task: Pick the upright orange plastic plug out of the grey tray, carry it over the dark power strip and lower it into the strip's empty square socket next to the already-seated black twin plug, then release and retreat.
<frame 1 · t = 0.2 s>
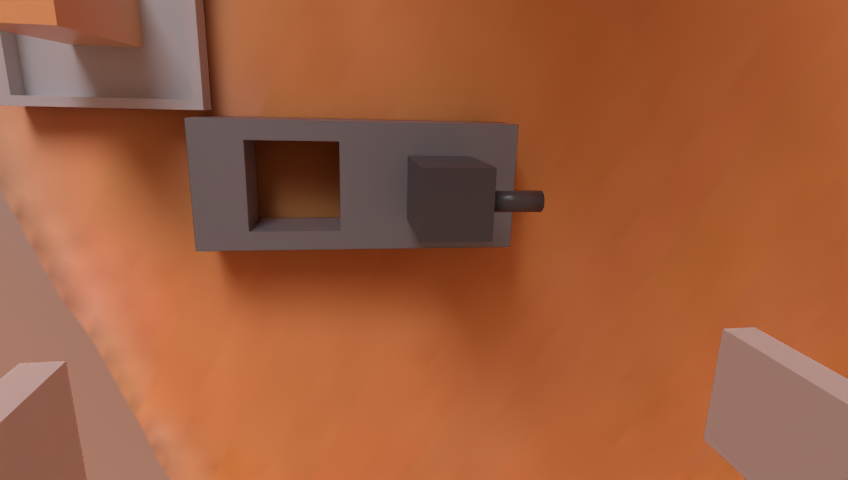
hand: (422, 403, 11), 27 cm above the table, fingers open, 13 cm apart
tray: (107, 12, 32), on the table
plug: (103, 10, 31), resting on tray
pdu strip: (357, 178, 36), on the table
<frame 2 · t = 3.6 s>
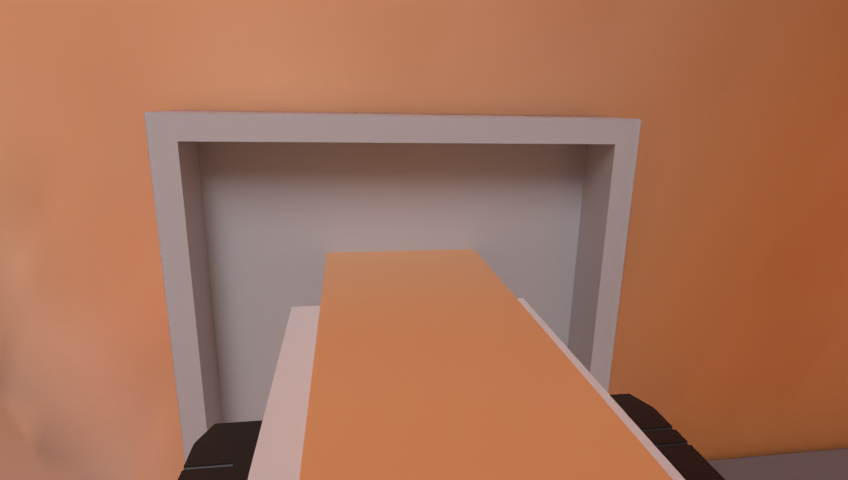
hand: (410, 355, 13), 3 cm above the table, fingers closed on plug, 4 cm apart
tray: (399, 312, 15), on the table
plug: (401, 319, 15), point 1 cm above the table, touching gripper, tray
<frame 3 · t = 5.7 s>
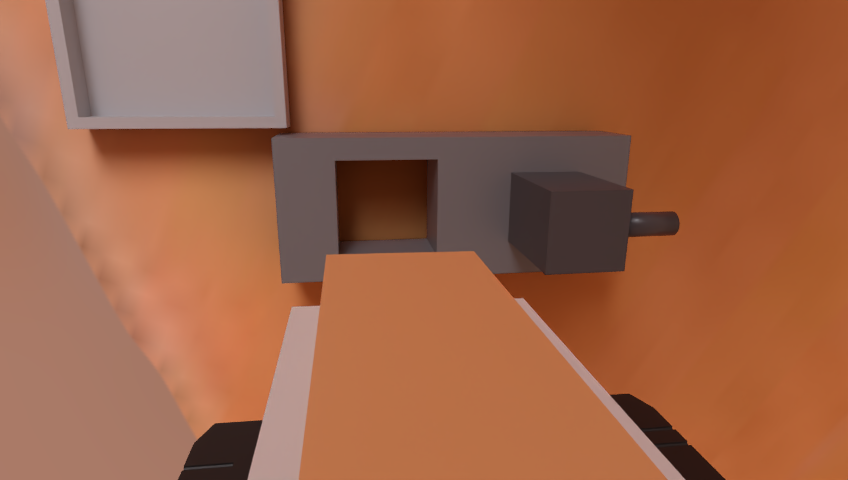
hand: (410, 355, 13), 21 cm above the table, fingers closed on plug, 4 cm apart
tray: (178, 21, 29), on the table
plug: (401, 321, 15), point 19 cm above the table, touching gripper
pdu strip: (445, 195, 33), on the table
when the fingers open (5 cm above the table, at t = 8.0 s): plug drops 3 cm, resting in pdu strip.
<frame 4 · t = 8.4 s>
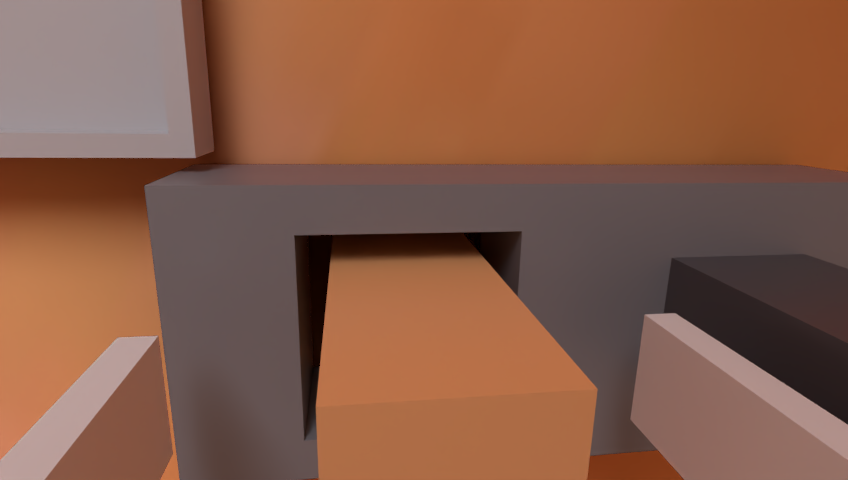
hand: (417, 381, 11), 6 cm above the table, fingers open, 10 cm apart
plug: (396, 286, 17), resting in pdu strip
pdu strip: (513, 281, 18), on the table
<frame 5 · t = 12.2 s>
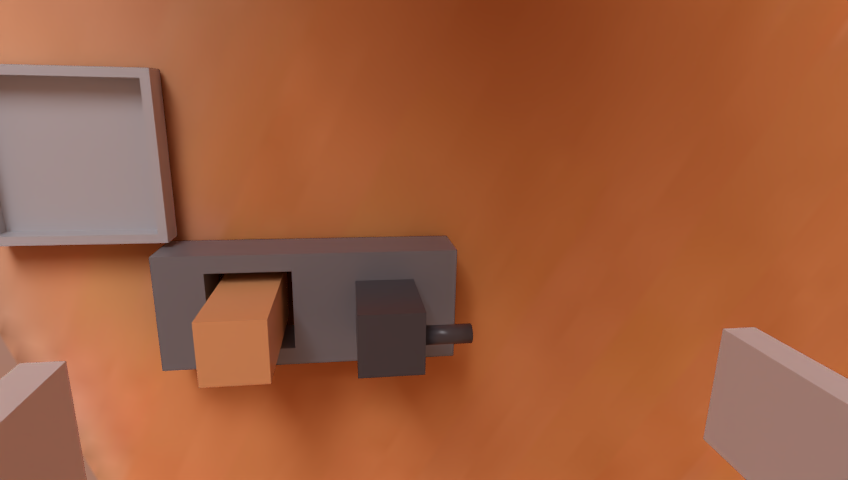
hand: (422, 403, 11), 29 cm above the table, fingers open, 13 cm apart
tray: (79, 155, 35), on the table
plug: (260, 291, 39), resting in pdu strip
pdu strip: (314, 289, 39), on the table
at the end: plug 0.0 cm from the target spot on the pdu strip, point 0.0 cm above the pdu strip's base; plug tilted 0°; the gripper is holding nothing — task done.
